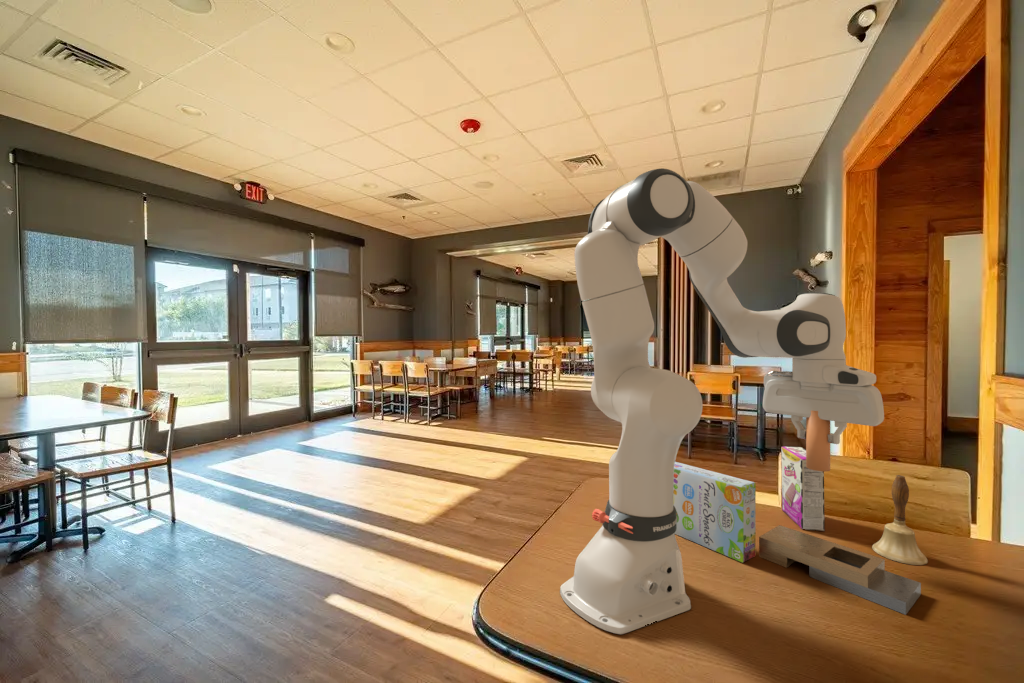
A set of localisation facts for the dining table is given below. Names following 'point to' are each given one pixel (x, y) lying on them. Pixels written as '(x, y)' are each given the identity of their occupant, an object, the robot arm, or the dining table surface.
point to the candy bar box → (802, 490)
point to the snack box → (715, 511)
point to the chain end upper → (819, 555)
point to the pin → (817, 443)
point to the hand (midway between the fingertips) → (818, 440)
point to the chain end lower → (876, 588)
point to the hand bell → (899, 531)
